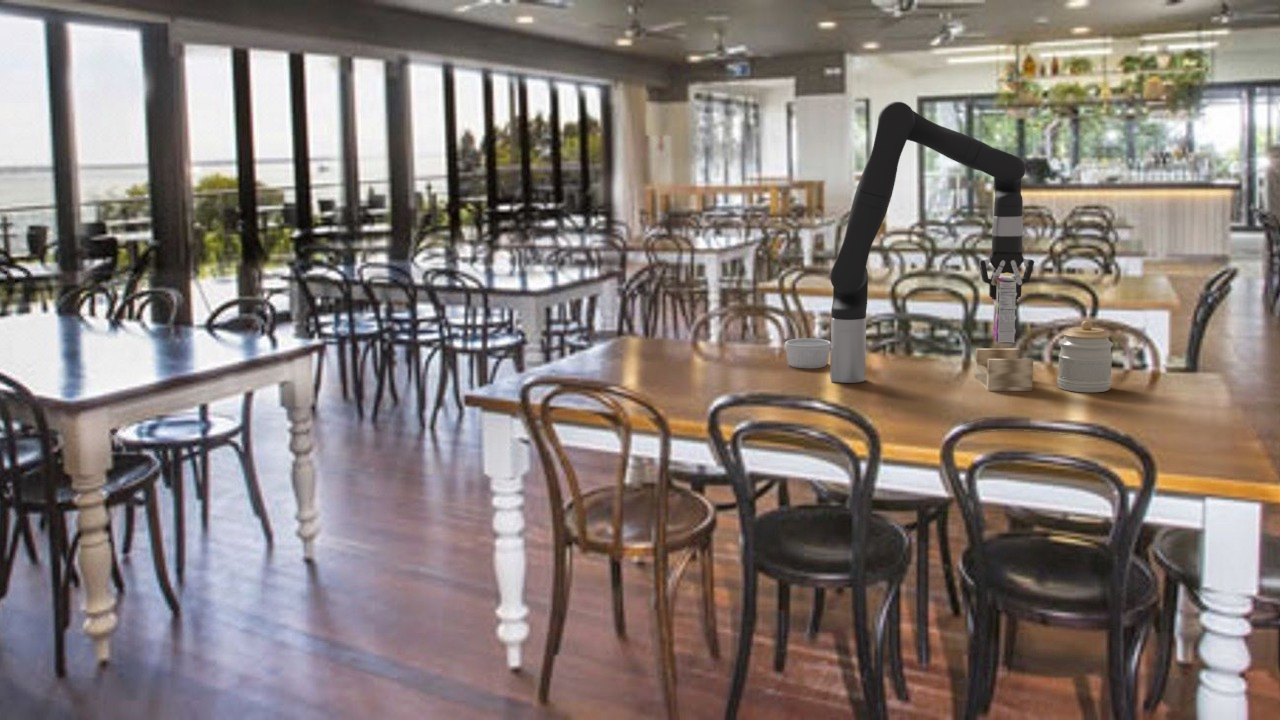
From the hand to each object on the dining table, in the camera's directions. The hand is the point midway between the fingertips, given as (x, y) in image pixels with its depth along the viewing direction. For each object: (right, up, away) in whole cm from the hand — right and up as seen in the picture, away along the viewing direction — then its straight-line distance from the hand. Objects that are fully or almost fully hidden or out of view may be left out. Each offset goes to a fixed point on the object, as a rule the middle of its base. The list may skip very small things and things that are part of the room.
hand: (1005, 298), depth 298 cm
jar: (+19, -23, -4) cm, 30 cm away
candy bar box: (0, -11, +2) cm, 11 cm away
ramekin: (-46, -18, +37) cm, 62 cm away
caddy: (+1, -22, +4) cm, 23 cm away
